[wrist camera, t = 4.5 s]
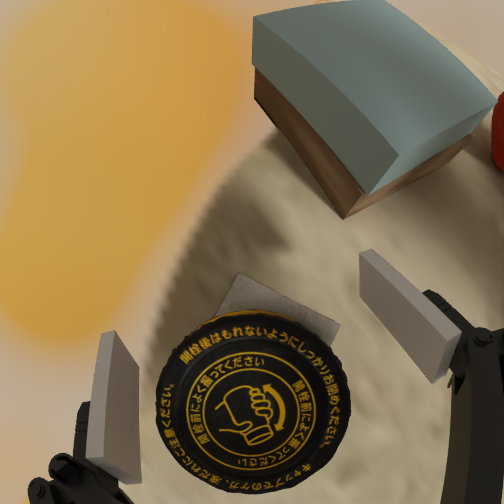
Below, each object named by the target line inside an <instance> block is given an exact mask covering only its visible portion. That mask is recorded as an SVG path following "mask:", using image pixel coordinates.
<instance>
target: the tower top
mask: <svg viewBox="0 0 504 504" xmlns="http://www.w3.org/2000/svg"><path fill="white" fill-rule="evenodd" d="M252 42H253V43H252V64H253V65H254V66H255V67H256V68H257V69H258V70H259V71H260V72H261V73H262V74H263V75H264V76H265V77H266V78H267V79H268V80H269V81H270V82H271V83H272V84H273V85H274V86H275V87H276V88H277V89H278V90H279V91H280V92H281V94H282V95H283V96H284V97H285V98H286V99H287V100H288V101H289V102H290V103H291V104H292V105H293V106H294V107H295V108H296V110H297V111H298V112H299V113H300V114H301V115H302V116H303V117H304V118H305V119H306V121H307V122H308V123H309V124H310V125H311V126H312V127H313V128H314V130H315V131H316V132H317V133H318V134H319V135H320V137H321V138H322V139H323V140H324V141H325V142H326V144H327V145H328V146H329V147H330V148H331V150H332V151H333V152H334V153H335V154H336V156H337V157H338V158H339V159H340V161H341V162H342V163H343V164H344V166H345V167H346V168H347V169H348V171H349V172H350V173H351V174H352V176H353V177H354V178H355V180H356V181H357V182H358V184H359V185H360V186H361V187H362V189H363V190H364V191H365V193H366V194H367V196H369V195H370V194H372V193H374V192H375V191H377V190H378V189H380V188H382V187H383V186H385V185H387V184H388V183H390V182H392V181H393V180H395V179H397V178H398V177H400V176H401V175H403V174H405V173H406V172H408V171H410V170H411V169H413V168H415V167H416V166H418V165H419V164H421V163H423V162H424V161H426V160H428V159H429V158H431V157H432V156H434V155H436V154H437V153H439V152H441V151H442V150H444V149H445V148H447V147H449V146H450V145H452V144H453V143H455V142H457V141H458V140H460V139H461V138H463V137H465V136H466V135H468V134H470V133H471V132H472V131H473V130H474V128H475V127H476V126H477V125H478V124H479V123H480V122H481V121H482V120H483V118H484V117H485V116H486V115H487V114H488V113H489V112H490V110H491V109H492V108H493V107H494V106H495V105H496V104H497V102H498V100H497V99H496V98H495V97H494V96H493V95H492V94H491V92H490V91H489V90H488V89H487V88H486V87H485V86H484V85H483V84H482V83H481V81H480V80H479V79H478V78H477V77H476V76H475V75H474V74H473V73H472V72H471V71H470V70H469V69H468V68H467V67H466V66H465V65H464V64H463V63H462V62H461V61H460V60H459V59H458V58H457V57H456V56H454V55H453V54H452V53H451V52H450V51H449V50H448V49H447V48H446V47H445V46H443V45H442V44H441V43H440V42H439V41H438V40H437V39H435V38H434V37H433V36H432V35H431V34H429V33H428V32H427V31H426V30H424V29H423V28H422V27H421V26H419V25H418V24H417V23H416V22H414V21H413V20H412V19H410V18H409V17H408V16H406V15H405V14H403V13H402V12H401V11H399V10H398V9H397V8H395V7H394V6H392V5H391V4H389V3H388V2H386V1H385V0H352V1H340V2H331V3H323V4H315V5H308V6H303V7H297V8H291V9H285V10H281V11H275V12H271V13H267V14H262V15H258V16H254V17H253V41H252Z"/></svg>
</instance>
